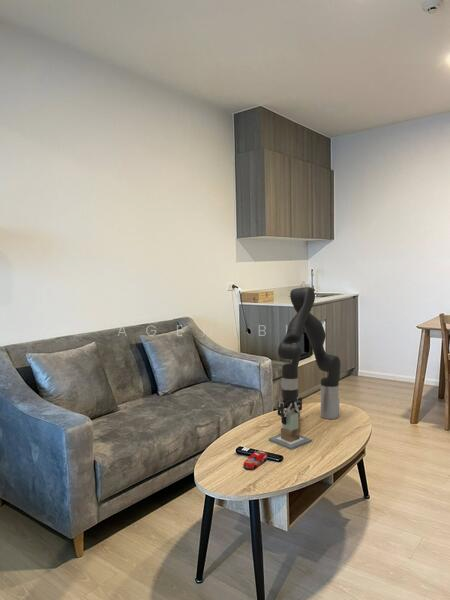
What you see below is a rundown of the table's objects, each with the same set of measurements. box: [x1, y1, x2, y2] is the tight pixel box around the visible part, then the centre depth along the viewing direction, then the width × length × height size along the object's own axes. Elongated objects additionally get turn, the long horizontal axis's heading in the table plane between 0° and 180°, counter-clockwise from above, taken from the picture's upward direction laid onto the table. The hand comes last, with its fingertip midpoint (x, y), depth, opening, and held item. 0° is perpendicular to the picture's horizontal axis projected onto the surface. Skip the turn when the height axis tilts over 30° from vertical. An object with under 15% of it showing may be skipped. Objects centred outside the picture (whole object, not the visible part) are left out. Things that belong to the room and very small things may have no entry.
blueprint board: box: [268, 426, 313, 451], centre depth 201 cm, size 14×14×6 cm
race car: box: [243, 451, 268, 471], centre depth 178 cm, size 13×5×4 cm, turn 143°
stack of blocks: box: [289, 406, 301, 434], centre depth 221 cm, size 21×6×12 cm, turn 171°
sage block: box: [282, 411, 298, 431], centre depth 200 cm, size 5×5×7 cm
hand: (290, 422), depth 200 cm, fingers open, 7 cm apart
